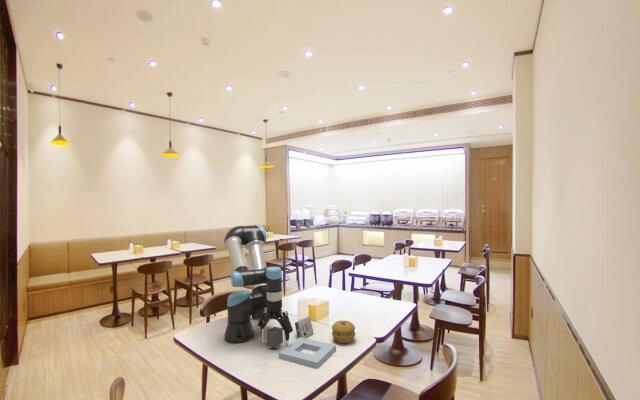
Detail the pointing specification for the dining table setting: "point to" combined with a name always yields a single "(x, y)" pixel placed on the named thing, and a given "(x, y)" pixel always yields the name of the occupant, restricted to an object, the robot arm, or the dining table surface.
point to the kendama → (258, 316)
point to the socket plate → (306, 359)
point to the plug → (274, 337)
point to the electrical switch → (304, 327)
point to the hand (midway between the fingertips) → (275, 344)
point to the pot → (343, 331)
